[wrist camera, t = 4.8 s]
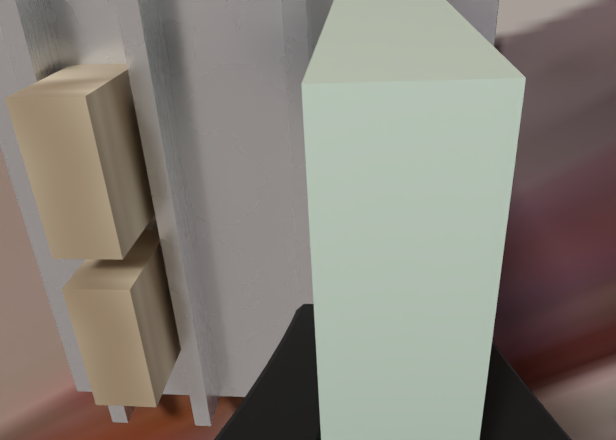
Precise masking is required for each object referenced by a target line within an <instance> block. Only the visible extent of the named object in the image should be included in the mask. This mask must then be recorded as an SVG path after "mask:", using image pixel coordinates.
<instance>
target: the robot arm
mask: <svg viewBox="0 0 616 440" xmlns="http://www.w3.org/2000/svg"><path fill="white" fill-rule="evenodd" d="M214 440H321V429H320V411H319V393H318V375H317V357H316V339H315V321H314V304H303V305H302V306H301V307H299V308H298V309H297V310H296V312H295V314H294V316H293V319H292V321H291V323H290V325H289V326H288V328H287V330H286V332H285V334H284V336H283V338H282V339H281V341H280V343H279V345H278V346H277V348H276V350H275V351H274V353H273V355H272V356H271V358H270V360H269V361H268V363H267V365H266V366H265V368H264V369H263V371H262V372H261V374H260V375H259V377H258V378H257V380H256V381H255V383H254V384H253V386H252V387H251V389H250V390H249V392H248V393H247V395H246V396H245V398H244V399H243V401H242V402H241V404H240V405H239V407H238V408H237V410H236V411H235V412H234V414H233V415H232V417H231V418H230V419H229V421H228V422H227V423H226V425H225V426H224V427H223V428H222V430H221V431H220V432H219V434H218V435H217V436H216V438H215V439H214ZM480 440H571V438H570V437H569V436H568V435H567V434H566V433H565V432H564V430H563V429H562V428H561V427H560V426H559V425H558V423H557V422H556V421H555V420H554V419H553V417H552V416H551V415H550V414H549V412H548V411H547V410H546V409H545V408H544V406H543V405H542V404H541V403H540V402H539V400H538V399H537V398H536V397H535V395H534V394H533V393H532V392H531V391H530V389H529V388H528V387H527V386H526V384H525V383H524V382H523V380H522V379H521V378H520V377H519V375H518V374H517V373H516V371H515V370H514V369H513V367H512V366H511V365H510V363H509V362H508V361H507V359H506V358H505V357H504V355H503V354H502V353H501V351H500V350H499V349H498V347H497V346H496V345H495V343H494V342H493V340H492V346H491V354H490V361H489V369H488V377H487V385H486V393H485V400H484V408H483V416H482V424H481V432H480Z"/></svg>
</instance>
